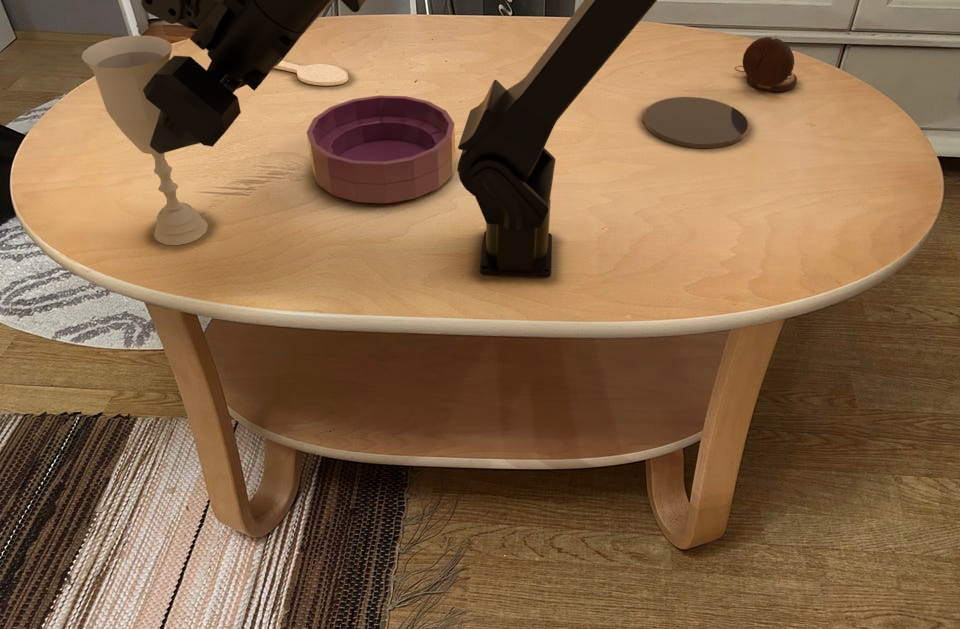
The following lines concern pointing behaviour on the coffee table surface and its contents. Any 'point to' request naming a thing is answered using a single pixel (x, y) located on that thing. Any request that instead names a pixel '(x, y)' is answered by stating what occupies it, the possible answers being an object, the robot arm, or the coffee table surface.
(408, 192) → the plum bowl
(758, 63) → the compass
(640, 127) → the coffee table surface
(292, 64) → the spoon
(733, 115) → the slate coaster
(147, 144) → the chalice
